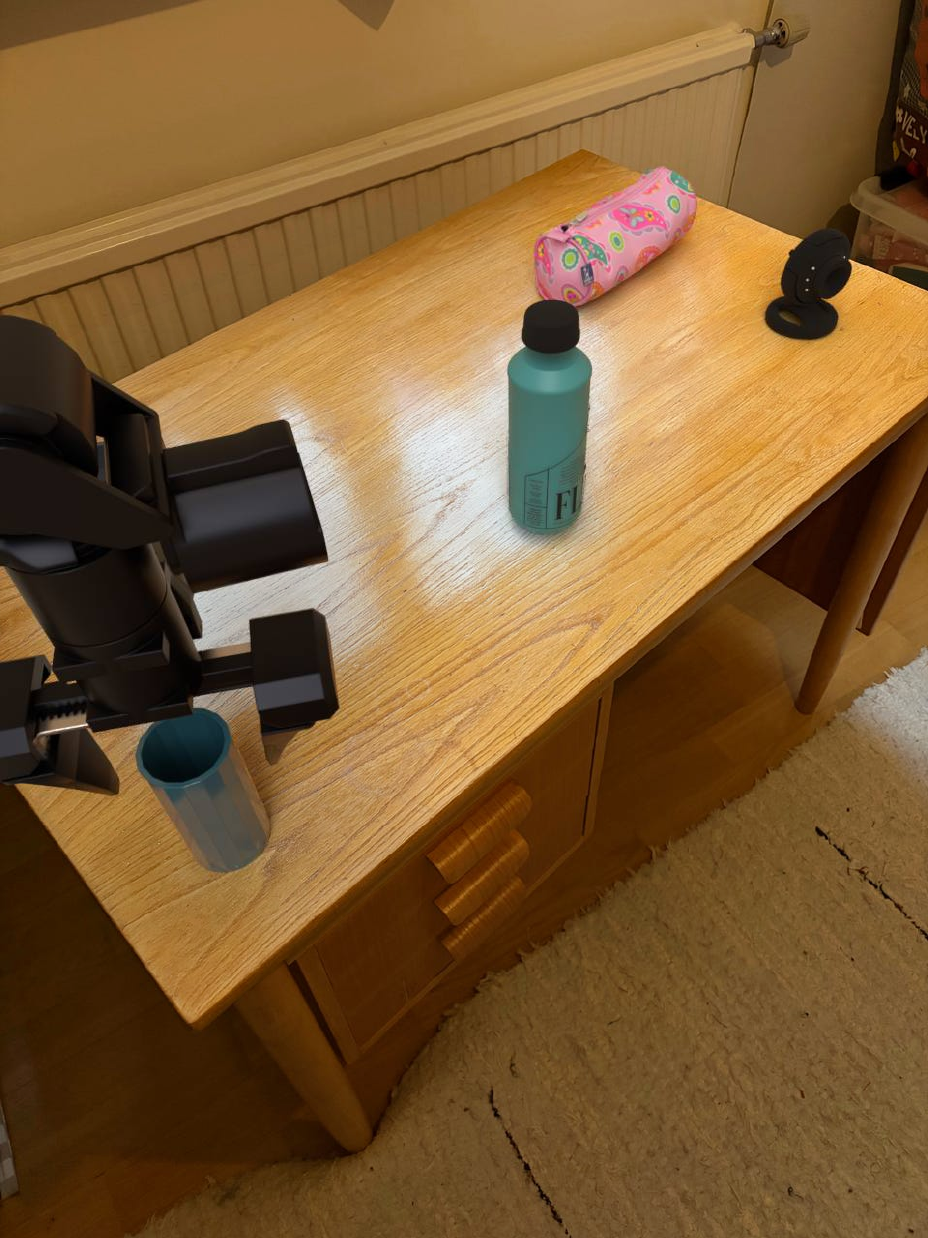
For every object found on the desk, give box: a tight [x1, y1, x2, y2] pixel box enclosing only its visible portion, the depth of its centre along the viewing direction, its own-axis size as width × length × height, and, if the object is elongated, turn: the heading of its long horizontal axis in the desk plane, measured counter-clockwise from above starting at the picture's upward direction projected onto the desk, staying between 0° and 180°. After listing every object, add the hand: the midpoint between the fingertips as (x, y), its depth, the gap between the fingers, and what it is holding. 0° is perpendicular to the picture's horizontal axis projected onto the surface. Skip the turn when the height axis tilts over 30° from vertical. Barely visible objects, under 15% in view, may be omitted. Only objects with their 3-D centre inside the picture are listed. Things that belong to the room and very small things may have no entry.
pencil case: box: [533, 165, 698, 308], centre depth 99 cm, size 21×9×9 cm, turn 136°
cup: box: [134, 707, 271, 873], centre depth 54 cm, size 5×5×11 cm
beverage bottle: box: [505, 299, 593, 534], centre depth 68 cm, size 6×7×20 cm
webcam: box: [764, 227, 853, 340], centre depth 90 cm, size 8×8×10 cm
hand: (195, 773), depth 52 cm, fingers open, 9 cm apart
